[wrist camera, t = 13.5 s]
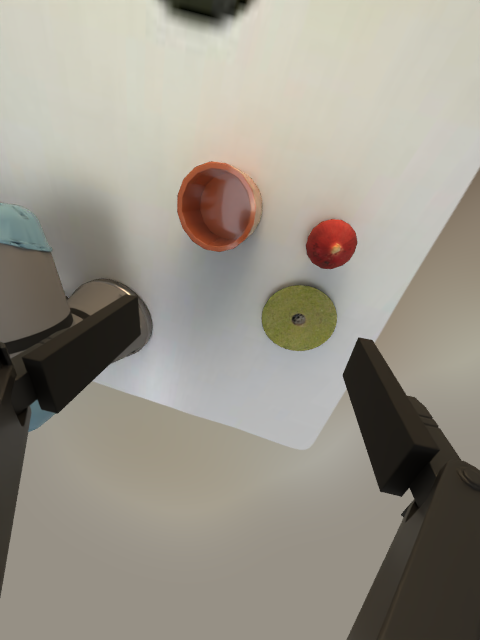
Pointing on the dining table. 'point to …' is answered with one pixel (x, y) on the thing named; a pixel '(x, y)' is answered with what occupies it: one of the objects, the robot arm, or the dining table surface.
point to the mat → (299, 318)
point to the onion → (331, 244)
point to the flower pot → (218, 206)
